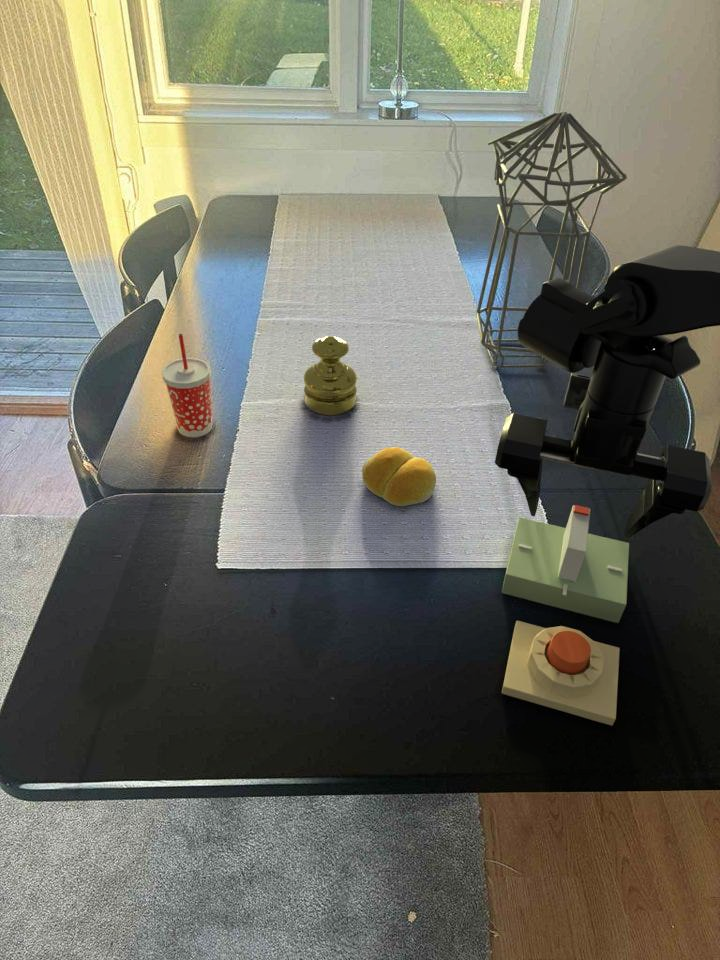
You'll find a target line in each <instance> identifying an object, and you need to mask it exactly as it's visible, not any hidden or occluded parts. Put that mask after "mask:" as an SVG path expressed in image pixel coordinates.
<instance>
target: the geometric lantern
mask: <svg viewBox="0 0 720 960" xmlns="http://www.w3.org/2000/svg"><path fill="white" fill-rule="evenodd" d="M569 126H570V127H571V128H572V129H573V131H574V132H575V133H576V135H578V137H579V138H580V139H581V140H582V142H577V143H571V137H570V136H571V135H570V127H569ZM557 129H558V131H557V134H556V138H555V140H554V141H555V142H554V143H547V142H548V140H549V139H550V138H551V136H552V135H553V134H554V133H555V131H556V130H557ZM529 132H530V133H529ZM527 133H529V134H527ZM524 134H527V136H525V137H524V138H522V139H521V140H520V141H514V140H512V139H515V138H517V137H519V136H522V135H524ZM564 140H565V141H564ZM564 143H565V144H564ZM500 144H501V145H502V146H503V147H505V148H506V149H507V150H506V151H504V149H503V148H502V146H501V145H500ZM491 145H492V146H493V151H494V152H493V153H494V157H495V166H494V175H493V176H494V177H493V181H495V184H496V186H498V191H499V199H500V204H499V203H497V210H498V214H497V218H496V222H495V228H494V232H493V237H492V241H491V246H490V249H489V254H488V259H487V263H486V268H485V272H484V277H483V281H482V286H481V290H480V295H479V298H478V303H477V307H476V312H475V315H476V319H477V326H478V332H479V339H480V344H481V345H482V347H484V348H485V349H486V351H487V354H488V356H489V359H490V361H491V364H492V366H494V367H496V368H500V369H501V368H544V367H545V365H546V364H547V362H548V360H547V359H546V358H544V357H542V356H540V355H539V354H503V353H502V352H503V351H504V352H521V353H534V352H533V351H532V350H530V349H528V348H526V347H513V346H511V347H509V346H502V345H501V344H502V343H513V342H514V343H516V342H517V343H518V342H519V339H518V338H515V339H513V338H511V339H506V338H505V339H502V338H503V337H502V336H503V332H518V328H504V327H505V326H504V325H505V319H506V313H507V311H510V312H526V311H527V309H528V307H511V306H509V307H508V301H509V296H510V290H511V284H512V277H513V271H514V266H515V259H516V254H517V248H518V243H519V236H520V235H522V236H523V235H524V236H545V237H558V240H557V245H556V248H555V251H554V256H553V260H552V265H551V269H550V272H549V276H548V280H547V282H548V281H551V280H553V279H554V275H555V270H556V266H557V263H558V259H559V253H560V251H561V247H562V242H563V238H564V237H568V238H569V241H568V247H567V252H566V257H565V263H564V268H563V272H562V273H563V274H562V279H563V280H565V281H567V276H568V271H569V265H570V271H569V276H568V281H567V282H569V283H570V284H571V285H572V286H573V281H574V277H575V270H576V263H577V258H578V252H579V247H580V242H581V241H580V240H581V238H583V237H585V238H584V244H583V247H582V248H583V249H582V254H581V260H580V265H579V270H578V275H577V280H576V285H575V286H576V287H575V288H577V289H579V290H581V286H582V281H583V275H584V269H585V265H586V260H587V253H588V248H589V244H590V240H591V239H590V238H591V231H592V228H593V225H594V221H595V219H596V215H597V213H598V210H599V206H600V203H601V200H602V198H603V195H604V194H606V193H607V192H609V191H610V190H612V189H613V188H615V187H616V186H618V185H620V184H621V183H623V182H624V181H626V179H628V176H627V174H626V173H624V172H623V170H622V169H621V168H620V167H619V166H618V165H617V164H616V163H615V162H614V160H613V159H612V158H611V157H610V156H609V155H608V154H607V153H606V151H605V150H604V149H603V146H602V144H601V143H599V141H597V140H596V139H595V138H594V137H593V136H592V135H591V134H590V133H589V132H588V131H587V130H586V129H585V128H584V127H583V126H582V124H581V123H580V122H579V121H578V120H577V119H576V118H575V117H574V115H573V114H572V113H570V112H569V113H568V112H567V111H560V112H553V113H551V114H548V115H547V116H544V117H542V118H539V119H538V120H535V121H533V122H531V123H529V124H527V125H525V126H522V127H520V128H518V129H516V130H513V131H511V132H509V133H507V134H505V135H501V136H499V137H498V138H495V139H493V140H491V141H489V142H487V146H491ZM543 148H544V149H553V150H552V153H551V157H550V160H549V161H550V162H549V164H548V166H545V165H543V166H542V165H539V164H538V165H537V164H536V162H537V159H538V155H539V152H540V151H541V150H542V149H543ZM523 149H525V151H523ZM572 149H578V150H576V152H574V153H573V154H572ZM588 149H589V150H590V151H591V153H592V155H593V156H594V158H595V159H596V178H594V179H592V178H591V179H581V180H575V179H574V168H573V167H574V166H573V160H574V159H575V158H576V157H578V156H579V155H581V154H582V153H583V152H585V151H586V150H588ZM563 150H565V151H566V159H565V160H563V161H562V162H560V163H559V164H558V165H556V163H557V160H558V156H559V154H561V153H563ZM521 151H523V153H521ZM532 152H533V153H532ZM531 153H532V154H531ZM530 154H531V155H530ZM529 155H530V157H529V158H528V156H529ZM515 156H516V157H518V158H517V159H516V160H515V161H514V162H513V163H512V164H511V165H510V166H509V168H508V167H507V166H506V165H507V163H508V162H509V161H511V159H513V158H514V157H515ZM523 162H524V164H523V165H522V167H521V169H520V170H519V171H518V172H517V174H516V175H515V176H514V175H511V174H512V172H513V171H514V170H516V168H517V167H518V166H519V165H520V164H521V163H523ZM528 165H529V167H528V169H527V171H526V172H525V173H522V172H523V171H524V170H525V169H526V167H527V166H528ZM611 165H612V166H613V167H612V166H611ZM564 166H567V170H568V171H567V172H568V181H563V179H562V177H561V175H560V172H559V170H560V169H562V168H563V167H564ZM533 169H534V170H538V171H543V172H547V173H546V175H538V174H531V172H532V170H533ZM602 169H603V170H602ZM503 172H504V173H503ZM552 173H556V176H557V178H558V180H554V179H551V178H552V177H551V176H552ZM605 175H606V178H604V177H605ZM508 178H509V179H511V180H514V181H516V180H517V179H518V180H519V181H520V182H519V184H518V185H517V187H516V188H515V190H514V192H513V193H512V195H511V196H510V198H509V200H508V198H507V197H508V196H507V183H506V182H507V181H508ZM528 180H531V181H532V180H533V181H541V182H544V189H543V193H541V192H540V191H539V190H538V189H537V188H536V187H535V186H533V184H532V183H530V181H528ZM549 185H550V186H558V187H562V190H563V192H564V194H565V199H556V200H555V199H554V200H549V199H548V186H549ZM586 185H587V186H588V185H591V186H590V188H589V189H588V190H586V191H584V192H582V193H580V194H576V195H575V196H572V197H570V194H571V186H572V187H573V186H575V187H576V186H586ZM523 186H525V187H527V188H528V189H529V190H530V191H531V192H532V193H533V194H534V195H535V196H536V197H537V198H538V199H539V200H540V201H542V202H531V201H530V202H527V201H514V200H515V198H516V197H517V195H518V194H519V191H520V190H521V188H522V187H523ZM598 191H599V196H598V199H597V202H596V205H595V209H594V212H593V215H592V218H591V221H590V224H589V227H588V225H587V223H586V221H585V220H584V218H583V216H582V215H581V213H580V211H579V209H580V207H582V205H583V204H584V202H585V201H586V200H587V199H588V197H589V196H591V195H592V194H594V193H597V192H598ZM578 200H579V202H578V203H577V204H576V205H575V207H574V205H573V203H574V202H577V201H578ZM514 206H540V207H539V208H538V209H537V210H536V211H535V212H534V213H533V214H532V215H531V216H530V217H529V218H528V219H527V220H526V221H524V223H523V224H522V225H521V226H520V227H519V228H518V229H515V228H513V226H509V225H510V221H511V217H512V213H513V207H514ZM545 207H565V210H564V214H563V215H564V216H563V218H562V222H561V227H560V231H559V232H538V231H521V230H523V228H525V227H526V226H527V225H528V223H529V222H531V221H532V220H533V219H534V218H535V217H536V216H537V215H538V213H540V212H541V211H542V210H543V209H544V208H545ZM507 208H508V211H507ZM569 216H570V220H571V223H572V225H571V228H570V229H571V230H570V233H565V230H566V226H567V221H568V218H569ZM578 218H579V220H580V222H581V224H582V226H583V228H584V229H585V231H584V232H580V230H579V226H578V223H577V222H578ZM501 222H502V225H503V232H502V236H501V241H500V245H499V249H498V254H497V257H496V262H495V267H494V271H493V275H492V279H491V284H490V287H489V292H488V297H487V301H486V306H485V307H483V308H482V305H483V300H484V296H485V292H486V287H487V283H488V279H489V274H490V270H491V266H492V261H493V257H494V251H495V247H496V243H497V238H498V234H499V230H500V225H501ZM510 233H512V234H513V235H514V237H513V242H512V249H511V253H510V254H511V255H510V259H509V260H510V261H509V267H508V272H507V279H506V285H505V291H504V296H503V297H504V298H503V304H502V306H494V304H495V298H496V294H497V291H498V286H499V281H500V278H501V273H502V268H503V264H504V260H505V256H506V251H507V246H508V242H509V237H510ZM574 239H575V243H574ZM573 243H574V247H573ZM572 248H573V253H572ZM571 255H572V259H571ZM570 260H571V264H570ZM492 311H501V316H500V323H499V328H495V329H493V327H492V323H491V316H492ZM482 313H485V316H486V319H485V322H484V319H482V317H481V314H482ZM495 332H497V333H498V335H497V339H493V334H494V333H495ZM495 343H496V345H495ZM519 343H520V342H519ZM492 354H493V355H494V357H493V355H492ZM498 358H501V361H500V364H499V363H498ZM505 358H541V364H504V360H505Z"/></svg>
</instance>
